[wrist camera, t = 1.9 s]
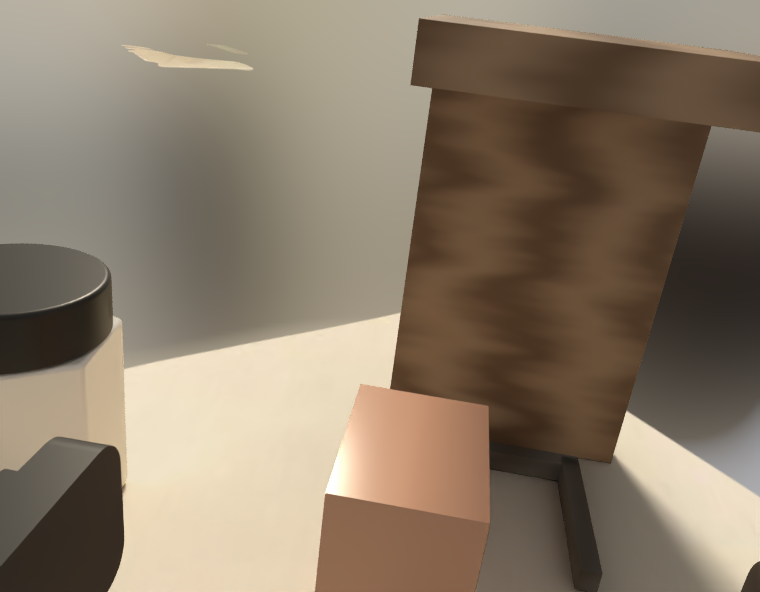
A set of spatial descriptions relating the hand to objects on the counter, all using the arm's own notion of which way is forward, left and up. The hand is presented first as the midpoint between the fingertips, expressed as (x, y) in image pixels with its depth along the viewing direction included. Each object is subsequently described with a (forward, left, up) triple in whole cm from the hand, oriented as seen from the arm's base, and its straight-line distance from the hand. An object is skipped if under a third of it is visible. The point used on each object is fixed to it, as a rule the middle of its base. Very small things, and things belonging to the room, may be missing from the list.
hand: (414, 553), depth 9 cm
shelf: (+5, +24, -18) cm, 31 cm away
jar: (-18, +18, -18) cm, 32 cm away
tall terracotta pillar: (0, +11, -18) cm, 21 cm away
